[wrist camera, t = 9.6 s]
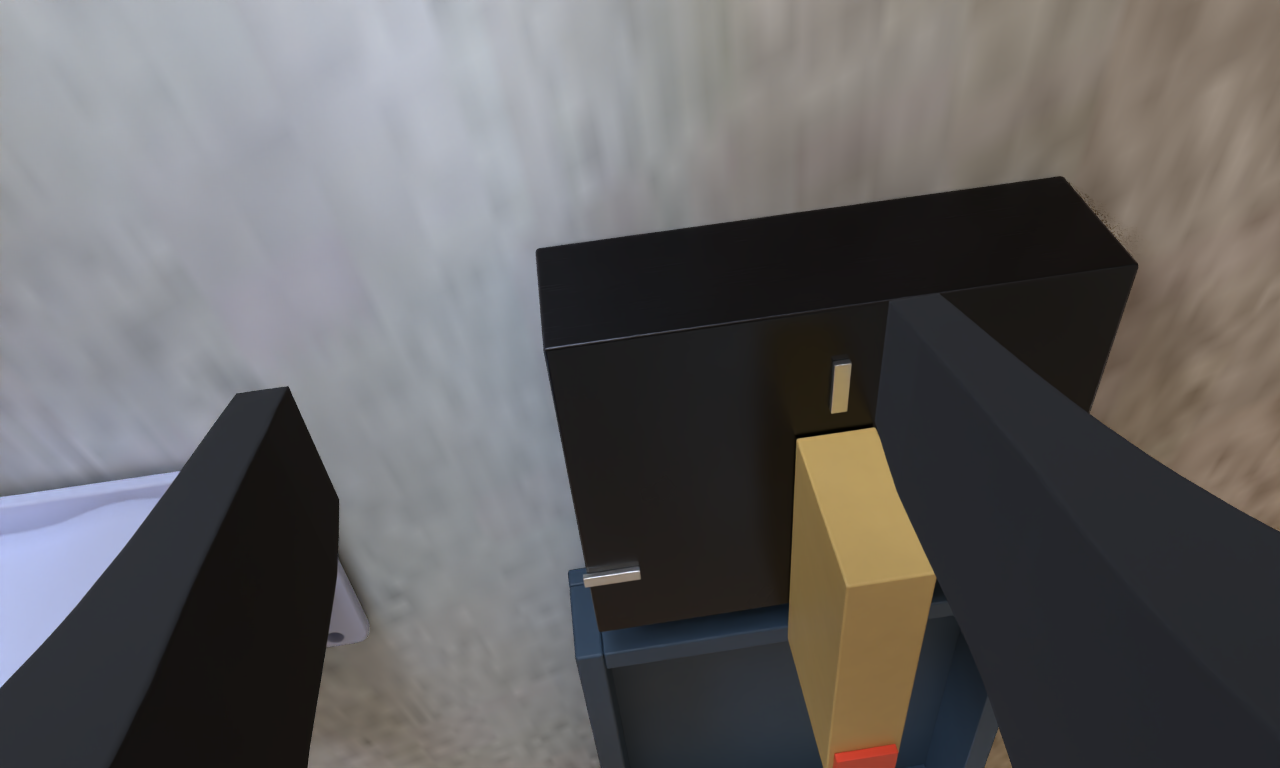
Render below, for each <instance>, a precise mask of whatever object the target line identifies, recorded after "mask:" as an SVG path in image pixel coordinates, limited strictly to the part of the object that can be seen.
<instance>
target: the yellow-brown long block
mask: <svg viewBox="0 0 1280 768" xmlns="http://www.w3.org/2000/svg"><path fill="white" fill-rule="evenodd" d="M935 583H936V576H935V574H934V571H933V569H932V567H931V565H930V563H929V561H928V559H927V557H926V554H925V552H924V550H923V548H922V546H921V544H920V542H919V539H918V537H917V535H916V533H915V531H914V528H913V526H912V524H911V522H910V520H909V518H908V515H907V513H906V511H905V509H904V507H903V504H902V502H901V500H900V498H899V495H898V493H897V491H896V488H895V485H894V481H893V478H892V475H891V472H890V469H889V466H888V463H887V460H886V457H885V453H884V450H883V447H882V443H881V440H880V437H879V435H878V432H877V430H876V428H874V427H873V428H866V429H860V430H853V431H846V432H839V433H833V434H826V435H819V436H812V437H805V438H799V439H797V441H796V463H795V486H794V508H793V530H792V553H791V575H790V598H789V620H788V641H789V644H790V648H791V652H792V655H793V659H794V663H795V666H796V670H797V674H798V677H799V681H800V685H801V688H802V692H803V696H804V699H805V703H806V707H807V710H808V714H809V718H810V721H811V725H812V728H813V732H814V736H815V739H816V743H817V747H818V750H819V754H820V758H821V761H822V765H823V768H895V766H896V762H897V757H898V753H899V748H900V744H901V739H902V734H903V730H904V725H905V721H906V716H907V712H908V707H909V702H910V698H911V693H912V689H913V684H914V679H915V675H916V670H917V666H918V661H919V656H920V652H921V647H922V643H923V638H924V633H925V629H926V624H927V620H928V615H929V610H930V606H931V601H932V597H933V592H934V588H935Z"/></svg>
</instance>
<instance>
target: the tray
mask: <svg viewBox="0 0 1280 768" xmlns="http://www.w3.org/2000/svg"><path fill="white" fill-rule="evenodd" d="M583 574H587V571H586V568H581V569H575V570H570V571H569V572H568V578H569V587H570V600H571V612H572V623H573V635H574V646H575V658H576V663H577V667H578V671H579V675H580V680H581V684H582V688H583V693H584V697H585V701H586V706H587V710H588V714H589V719H590V723H591V727H592V732H593V736H594V740H595V745H596V749H597V753H598V758H599V762H600V766H601V768H823V765H822V761H821V758H820V754H819V750H818V747H817V743H816V739H815V736H814V732H813V728H812V725H811V721H810V718H809V714H808V710H807V707H806V703H805V699H804V696H803V692H802V688H801V685H800V681H799V677H798V674H797V670H796V666H795V663H794V659H793V655H792V652H791V648H790V644H789V641H788V620H789V603H787V604H781V605H774V606H768V607H761V608H755V609H748V610H742V611H735V612H729V613H722V614H716V615H709V616H703V617H696V618H690V619H683V620H677V621H670V622H664V623H657V624H651V625H644V626H638V627H631V628H625V629H618V630H612V631H605V632H599V630H598V627H597V622H596V617H595V612H594V607H593V602H592V596H591V591H590V587H587V588H585V585H584V580H583ZM997 730H998V724H997V721H996V718H995V715H994V712H993V709H992V706H991V703H990V701H989V698H988V695H987V692H986V689H985V686H984V683H983V680H982V678H981V675H980V673H979V670H978V668H977V666H976V663H975V661H974V658H973V656H972V654H971V651H970V649H969V646H968V644H967V642H966V640H965V638H964V635H963V633H962V631H961V629H960V627H959V625H958V623H957V621H956V618H955V616H954V614H953V612H952V610H951V608H950V606H949V603H948V601H947V599H946V597H945V595H944V593H943V591H942V589H941V586H940V584H939V582H938V580H937V581H936V583H935V588H934V592H933V597H932V601H931V606H930V610H929V615H928V620H927V624H926V629H925V633H924V638H923V643H922V647H921V652H920V656H919V661H918V666H917V670H916V675H915V679H914V684H913V689H912V693H911V698H910V702H909V707H908V712H907V716H906V721H905V725H904V730H903V734H902V739H901V744H900V748H899V753H898V757H897V762H896V766H895V768H984V767H985V764H986V761H987V758H988V756H989V753H990V750H991V747H992V744H993V742H994V739H995V736H996V733H997Z"/></svg>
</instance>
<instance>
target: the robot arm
mask: <svg viewBox="0 0 1280 768" xmlns="http://www.w3.org/2000/svg"><path fill="white" fill-rule="evenodd" d="M875 424H876V427H877V430H878V434H879V437H880V440H881V443H882V447H883V450H884V453H885V457H886V460H887V463H888V466H889V469H890V472H891V475H892V478H893V481H894V485H895V488H896V491H897V493H898V495H899V498H900V500H901V502H902V504H903V507H904V509H905V511H906V513H907V515H908V518H909V520H910V522H911V524H912V526H913V528H914V531H915V533H916V535H917V537H918V539H919V542H920V544H921V546H922V548H923V550H924V552H925V554H926V557H927V559H928V561H929V563H930V565H931V567H932V569H933V571H934V574H935V576H936V578H937V580H938V582H939V584H940V586H941V589H942V591H943V593H944V595H945V597H946V599H947V601H948V603H949V606H950V608H951V610H952V612H953V614H954V616H955V618H956V621H957V623H958V625H959V627H960V629H961V631H962V633H963V635H964V638H965V640H966V642H967V644H968V646H969V649H970V651H971V654H972V656H973V658H974V661H975V663H976V666H977V668H978V670H979V673H980V675H981V678H982V680H983V683H984V686H985V689H986V692H987V695H988V698H989V701H990V703H991V706H992V709H993V712H994V715H995V718H996V721H997V724H998V727H999V729H1000V732H1001V735H1002V738H1003V741H1004V744H1005V747H1006V750H1007V753H1008V756H1009V759H1010V762H1011V765H1012V768H1280V532H1279V531H1277V530H1275V529H1273V528H1271V527H1269V526H1268V525H1266V524H1264V523H1262V522H1260V521H1258V520H1257V519H1255V518H1253V517H1251V516H1249V515H1247V514H1246V513H1244V512H1242V511H1240V510H1238V509H1237V508H1235V507H1233V506H1231V505H1230V504H1228V503H1226V502H1225V501H1223V500H1221V499H1220V498H1218V497H1216V496H1214V495H1213V494H1211V493H1209V492H1208V491H1206V490H1204V489H1203V488H1201V487H1199V486H1198V485H1196V484H1194V483H1192V482H1191V481H1189V480H1187V479H1186V478H1184V477H1182V476H1181V475H1179V474H1177V473H1176V472H1174V471H1173V470H1171V469H1170V468H1168V467H1166V466H1165V465H1163V464H1162V463H1160V462H1158V461H1157V460H1155V459H1154V458H1152V457H1151V456H1149V455H1148V454H1146V453H1145V452H1143V451H1142V450H1140V449H1139V448H1138V447H1136V446H1135V445H1133V444H1132V443H1130V442H1129V441H1127V440H1126V439H1124V438H1123V437H1122V436H1120V435H1119V434H1117V433H1116V432H1114V431H1113V430H1111V429H1110V428H1108V427H1107V426H1106V425H1104V424H1103V423H1101V422H1100V421H1099V420H1097V419H1096V418H1094V417H1093V416H1092V415H1090V414H1089V413H1088V412H1086V411H1085V410H1084V409H1082V408H1081V407H1079V406H1078V405H1077V404H1075V403H1074V402H1073V401H1071V400H1070V399H1069V398H1067V397H1066V396H1065V395H1063V394H1062V393H1061V392H1060V391H1058V390H1057V389H1056V388H1054V387H1053V386H1052V385H1051V384H1049V383H1048V382H1047V381H1045V380H1044V379H1043V378H1042V377H1040V376H1039V375H1038V374H1036V373H1035V372H1034V371H1033V370H1031V369H1030V368H1029V367H1028V366H1026V365H1025V364H1024V363H1023V362H1021V361H1020V360H1019V359H1018V358H1017V357H1015V356H1014V355H1013V354H1012V353H1010V352H1009V351H1008V350H1007V349H1006V348H1004V347H1003V346H1002V345H1001V344H999V343H998V342H997V341H996V340H995V339H993V338H992V337H991V336H990V335H989V334H987V333H986V332H985V331H984V330H983V329H981V328H980V327H979V326H978V325H977V324H975V323H974V322H973V321H972V320H971V319H969V318H968V317H967V316H966V315H965V314H963V313H962V312H961V311H960V310H959V309H957V308H956V307H955V306H954V305H953V304H951V303H950V302H949V301H948V300H946V299H945V298H944V297H943V296H941V295H940V294H933V295H926V296H919V297H912V298H905V299H898V300H891V301H889V308H888V316H887V324H886V332H885V341H884V349H883V357H882V365H881V373H880V382H879V390H878V398H877V406H876V414H875ZM338 543H339V498H338V496H337V494H336V492H335V489H334V487H333V485H332V483H331V480H330V478H329V476H328V474H327V472H326V469H325V467H324V465H323V463H322V460H321V458H320V456H319V454H318V451H317V449H316V447H315V445H314V442H313V440H312V438H311V436H310V434H309V431H308V429H307V427H306V425H305V422H304V420H303V418H302V416H301V413H300V411H299V409H298V407H297V405H296V402H295V400H294V398H293V396H292V393H291V391H290V389H289V387H288V386H286V387H279V388H272V389H265V390H258V391H251V392H244V393H237V394H236V395H235V396H234V398H233V399H232V400H231V402H230V403H229V404H228V406H227V407H226V408H225V410H224V411H223V412H222V414H221V415H220V416H219V418H218V419H217V421H216V422H215V423H214V425H213V426H212V428H211V429H210V430H209V432H208V433H207V435H206V436H205V437H204V439H203V440H202V442H201V443H200V444H199V446H198V447H197V449H196V450H195V451H194V453H193V454H192V456H191V457H190V459H189V460H188V461H187V463H186V464H185V466H184V467H183V468H182V470H181V471H177V472H170V473H163V474H156V475H149V476H142V477H136V478H129V479H122V480H115V481H108V482H101V483H94V484H87V485H80V486H73V487H67V488H60V489H53V490H46V491H39V492H32V493H25V494H18V495H11V496H4V497H0V768H307V767H308V758H309V750H310V743H311V737H312V731H313V725H314V719H315V713H316V706H317V700H318V694H319V688H320V682H321V676H322V670H323V664H324V658H325V652H326V648H327V647H334V646H340V645H347V644H353V643H358V642H361V641H363V640H365V639H366V638H367V637H368V635H369V627H370V625H369V621H368V619H367V617H366V615H365V613H364V611H363V609H362V607H361V604H360V602H359V600H358V598H357V596H356V594H355V592H354V590H353V588H352V586H351V584H350V581H349V579H348V577H347V575H346V573H345V571H344V569H343V567H342V565H341V563H340V561H339V559H338Z"/></svg>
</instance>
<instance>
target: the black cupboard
mask: <svg viewBox="0 0 1280 768" xmlns="http://www.w3.org/2000/svg"><path fill="white" fill-rule="evenodd" d="M536 264H537V276H538V288H539V301H540V313H541V325H542V338H543V350H544V355H545V360H546V366H547V371H548V376H549V381H550V386H551V391H552V396H553V401H554V407H555V412H556V417H557V422H558V427H559V432H560V437H561V442H562V448H563V453H564V458H565V463H566V468H567V473H568V478H569V484H570V489H571V494H572V499H573V504H574V509H575V514H576V519H577V525H578V530H579V535H580V540H581V545H582V550H583V555H584V561H585V566H586V571H587V574H583V580H584V585H585V588H587V587H590V591H591V596H592V602H593V607H594V612H595V617H596V622H597V627H598V630H599V632H605V631H612V630H618V629H625V628H631V627H638V626H644V625H651V624H657V623H664V622H670V621H677V620H683V619H690V618H696V617H703V616H709V615H716V614H722V613H729V612H735V611H742V610H748V609H755V608H761V607H768V606H774V605H781V604H787V603H789V598H790V575H791V553H792V530H793V508H794V486H795V463H796V441H797V439H799V438H805V437H812V436H819V435H826V434H833V433H839V432H846V431H853V430H860V429H866V428H873V427H874V428H876V430H877V427H876V424H875V414H876V406H877V398H878V390H879V382H880V373H881V365H882V357H883V349H884V341H885V332H886V324H887V316H888V308H889V301H891V300H898V299H905V298H912V297H919V296H926V295H933V294H940V295H941V296H943V297H944V298H945V299H946V300H948V301H949V302H950V303H951V304H953V305H954V306H955V307H956V308H957V309H959V310H960V311H961V312H962V313H963V314H965V315H966V316H967V317H968V318H969V319H971V320H972V321H973V322H974V323H975V324H977V325H978V326H979V327H980V328H981V329H983V330H984V331H985V332H986V333H987V334H989V335H990V336H991V337H992V338H993V339H995V340H996V341H997V342H998V343H999V344H1001V345H1002V346H1003V347H1004V348H1006V349H1007V350H1008V351H1009V352H1010V353H1012V354H1013V355H1014V356H1015V357H1017V358H1018V359H1019V360H1020V361H1021V362H1023V363H1024V364H1025V365H1026V366H1028V367H1029V368H1030V369H1031V370H1033V371H1034V372H1035V373H1036V374H1038V375H1039V376H1040V377H1042V378H1043V379H1044V380H1045V381H1047V382H1048V383H1049V384H1051V385H1052V386H1053V387H1054V388H1056V389H1057V390H1058V391H1060V392H1061V393H1062V394H1063V395H1065V396H1066V397H1067V398H1069V399H1070V400H1071V401H1073V402H1074V403H1075V404H1077V405H1078V406H1079V407H1081V408H1082V409H1084V410H1085V411H1086V412H1088V413H1089V414H1090V411H1091V408H1092V405H1093V402H1094V399H1095V396H1096V393H1097V390H1098V387H1099V384H1100V381H1101V378H1102V375H1103V372H1104V369H1105V366H1106V363H1107V360H1108V357H1109V354H1110V351H1111V348H1112V345H1113V342H1114V339H1115V336H1116V333H1117V330H1118V327H1119V324H1120V321H1121V318H1122V315H1123V312H1124V309H1125V306H1126V303H1127V300H1128V297H1129V294H1130V291H1131V288H1132V285H1133V282H1134V279H1135V276H1136V273H1137V270H1138V263H1137V262H1136V261H1135V260H1134V259H1133V257H1132V256H1131V255H1130V254H1129V253H1128V252H1127V250H1126V249H1125V248H1124V247H1123V246H1122V245H1121V243H1120V242H1119V241H1118V240H1117V239H1116V238H1115V237H1114V235H1113V234H1112V233H1111V232H1110V231H1109V230H1108V228H1107V227H1106V226H1105V225H1104V224H1103V223H1102V221H1101V220H1100V219H1099V218H1098V217H1097V216H1096V214H1095V213H1094V212H1093V211H1092V210H1091V209H1090V207H1089V206H1088V205H1087V204H1086V203H1085V202H1084V200H1083V199H1082V198H1081V197H1080V196H1079V195H1078V193H1077V192H1076V191H1075V190H1074V189H1073V188H1072V186H1071V185H1070V184H1069V183H1068V182H1067V181H1066V179H1065V178H1064V177H1061V176H1059V177H1052V178H1045V179H1038V180H1030V181H1023V182H1016V183H1009V184H1001V185H994V186H987V187H980V188H973V189H965V190H958V191H951V192H944V193H936V194H929V195H922V196H915V197H907V198H900V199H893V200H886V201H879V202H871V203H864V204H857V205H850V206H842V207H835V208H828V209H821V210H813V211H806V212H799V213H792V214H785V215H777V216H770V217H763V218H756V219H748V220H741V221H734V222H727V223H719V224H712V225H705V226H698V227H691V228H683V229H676V230H669V231H662V232H654V233H647V234H640V235H633V236H625V237H618V238H611V239H604V240H597V241H589V242H582V243H575V244H568V245H560V246H553V247H546V248H539V249H537V250H536ZM877 432H878V430H877ZM878 435H879V434H878ZM936 581H937V578H936Z"/></svg>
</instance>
